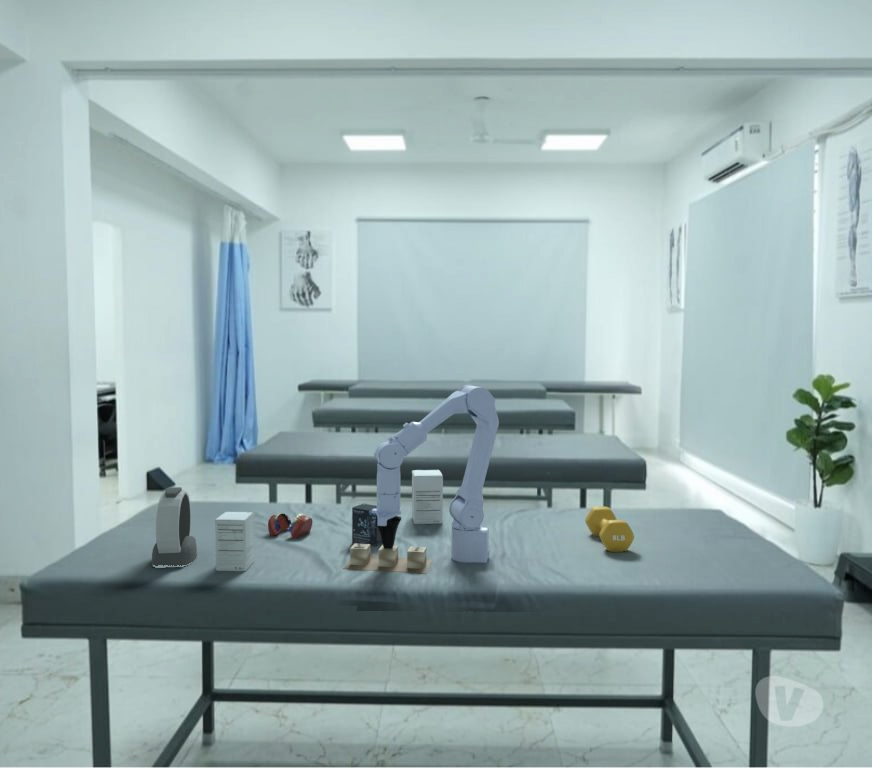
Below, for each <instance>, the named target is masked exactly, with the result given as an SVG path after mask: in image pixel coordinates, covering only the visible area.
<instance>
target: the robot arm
mask: <svg viewBox="0 0 872 768" xmlns="http://www.w3.org/2000/svg"><path fill="white" fill-rule="evenodd" d="M495 403H496V399H495V397H494V396H493V395H492V393H491V392H490V390H488V389H487V388H486V387H483V386H475V385H473V384H465V385H463V386H461V387H460V388H459V389H458V390H456V391H453V392H452V393H451V394H450V395H449V396H448V397H447V398H445V400H443V401H442V402H441V403H440V404H439V405H437V406H436V407H435V408H434V409H433V410H432V411H430V412H429V413H428V414H427V415H426V416H424V417H423V419H421V420H420V421H418V422H417V421H411V422H410V423H408V422H405V423H404V424H403V425H402V427H403V428H402V429H401V430H399V431H398V432H397V433H395V434H394V435H393V436H391V435H390V436H388V437H387V441H386V442H385V441H383V442H381V443H380V444H378V446H377V447H376V450H375V452H374V458H375V460H376V462H377V468H376V471H377V473H376V506H377V509H373V510H372V513H376V515H377V517H378V518H377V519H376V520H375V522H376V525H377V527H378V529H379V531H380V534H381V539H382V543H383V544H382V545H383V547H384V548H389V549H392V548H393V546H395V541H396V537H397V536H396V535H397V530H398V528H399V524H400V523H401V521H402V517H401V516H400V515H402V509H401V465H402V464H403V461H404V457H407V456H408V455H410V454H411V453H412V452H414V451H415V450H416V449H417V448H418V447H420V446H421V445H422V444H424V442H425V441H427V437H428V433H429V432H430V431H432V430H433V429H435V428H436V427H438V426H439V425H440V424H442V423H444V421H446V420H447V419H449V418H450V417H451V416H453V415H455V414H457V415H458V414H469V415H470V417H471V419H472V420H473V421H474V422H475V425H476V428H475V430H474V431H475V432H474V435H473V438H472V444H471V448H470V452H469V454H468V455H469V456H468V459H467V463H466V468H465V471H464V475H463V478H462V483H461V486H460V487H459V488H458V489H457V491H456V494H455V496H454V497H453V499H452V500H451V501H450V503H449V506H448V508H449V509H448V510H449V515H450V516H451V517H452V518H453V521H452V523H451V556H450V557H451V559H452V560H453V561H455V562H457V563H479V564H480V563H481V564H483V563H484V564H487V563H488V560H489V558H490V550H489V547H490V540H489V539H490V532H489V531H490V530H489V527H485V526H481V525H482V523H483V521H484V518H485V515H484V514H485V513H484V502H485V500H484V497H483V489H484V484H485V482H486V481H485V480H486V476H487V472H488V468H489V466H490V465H489V464H490V460H491V457H492V453H493V449H494V446H495V442H496V441H495V440H496V437H497V434H498V429H499V425H500V420H499V416H498V413H497V408H496V404H495Z"/></svg>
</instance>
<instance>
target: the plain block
mask: <svg viewBox="0 0 872 768" xmlns="http://www.w3.org/2000/svg"><path fill="white" fill-rule="evenodd" d="M378 557H379V566H384V567H395V566H396V565H397V563H398V558H399V545H393V548H392V549H389V548H384V547H383V544H381V546H379V549H378Z"/></svg>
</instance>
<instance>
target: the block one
mask: <svg viewBox="0 0 872 768" xmlns="http://www.w3.org/2000/svg"><path fill="white" fill-rule="evenodd" d="M406 553H407V554H406V558H407V568H419V569H424V567H425V565H426V559H427V546H426V547H425V546H409V548H408V549H407V550H406Z"/></svg>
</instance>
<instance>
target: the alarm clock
mask: <svg viewBox="0 0 872 768" xmlns="http://www.w3.org/2000/svg"><path fill="white" fill-rule="evenodd" d="M191 507H192V506H191V501H190V494H189V493H188V491H186V490H183V489H182V487H181V486H180V487H179V486H177V487H176V486H175V487H174V486H173V487H172V486H171V487H167V488H166V489H165V491H163V492H162V493H161V495H160V497H159V500H158V505H157V510H156V522H155V539H156V543H155V544H154V546H153V548H152V553H151V565H152V564H153V565H155V566H158V565H163V566H164V565H168V566H169V565H170V566H171V565H172V566H173V565H174V566H177V565H179V566H180V565H181V566H182V565H187V564H189V563H191V562H193V561H194V560H195V559H196V560H197V558H196V557H198V549H197V541H196V540H197V539H196V538H195V536H193V535H191V529H192V528H191V525H192V509H191ZM196 560H195V561H196ZM195 561H194V562H195ZM194 562H193V563H194Z"/></svg>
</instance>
